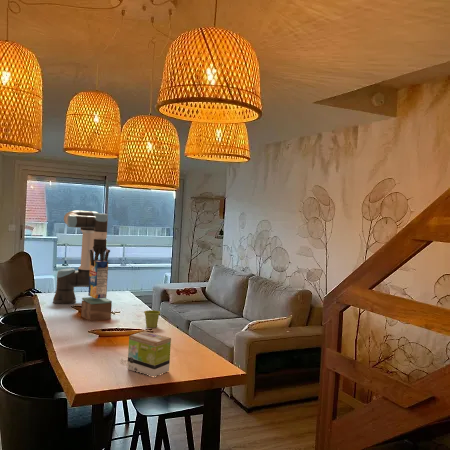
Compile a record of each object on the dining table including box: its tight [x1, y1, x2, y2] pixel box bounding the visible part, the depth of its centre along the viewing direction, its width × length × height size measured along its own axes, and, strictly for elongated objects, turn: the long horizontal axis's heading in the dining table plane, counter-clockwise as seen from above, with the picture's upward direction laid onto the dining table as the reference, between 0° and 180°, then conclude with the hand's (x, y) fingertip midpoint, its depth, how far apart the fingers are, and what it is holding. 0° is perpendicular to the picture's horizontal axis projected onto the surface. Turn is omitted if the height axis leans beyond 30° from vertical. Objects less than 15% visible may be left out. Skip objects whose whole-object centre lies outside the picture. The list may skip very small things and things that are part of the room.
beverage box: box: [87, 259, 109, 299], centre depth 276 cm, size 7×11×22 cm, turn 40°
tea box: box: [127, 330, 172, 378], centre depth 188 cm, size 15×10×15 cm, turn 58°
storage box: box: [80, 300, 113, 322], centre depth 276 cm, size 14×13×10 cm
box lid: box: [81, 296, 113, 304], centre depth 276 cm, size 14×13×1 cm
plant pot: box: [143, 309, 161, 329], centre depth 262 cm, size 9×9×9 cm
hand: (98, 277), depth 276 cm, fingers closed on beverage box, 2 cm apart
